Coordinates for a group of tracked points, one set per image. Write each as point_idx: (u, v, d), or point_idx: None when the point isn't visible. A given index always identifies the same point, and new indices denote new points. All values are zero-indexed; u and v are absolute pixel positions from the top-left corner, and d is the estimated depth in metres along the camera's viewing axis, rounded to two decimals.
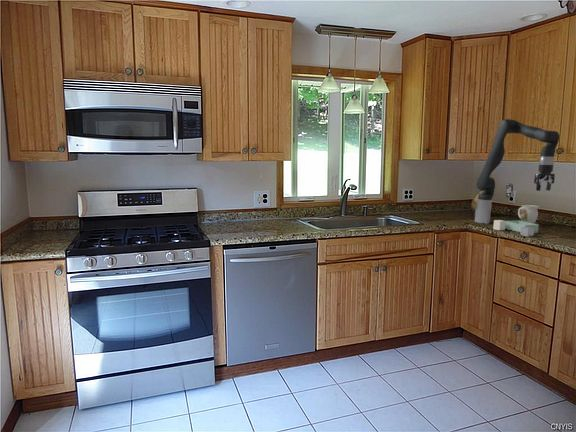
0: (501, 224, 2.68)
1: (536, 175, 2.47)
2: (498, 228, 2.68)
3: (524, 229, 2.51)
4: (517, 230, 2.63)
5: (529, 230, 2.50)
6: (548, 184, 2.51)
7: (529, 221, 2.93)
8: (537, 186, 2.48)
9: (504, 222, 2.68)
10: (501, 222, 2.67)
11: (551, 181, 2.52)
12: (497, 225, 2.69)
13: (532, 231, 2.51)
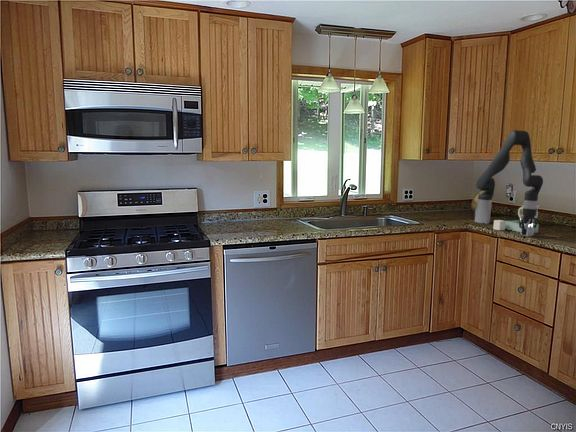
0: (501, 224, 2.68)
1: (520, 220, 2.49)
2: (498, 228, 2.68)
3: None
4: (517, 230, 2.63)
5: (529, 230, 2.50)
6: None
7: None
8: (522, 230, 2.51)
9: (504, 222, 2.68)
10: (501, 222, 2.67)
11: None
12: (497, 225, 2.69)
13: (532, 231, 2.51)
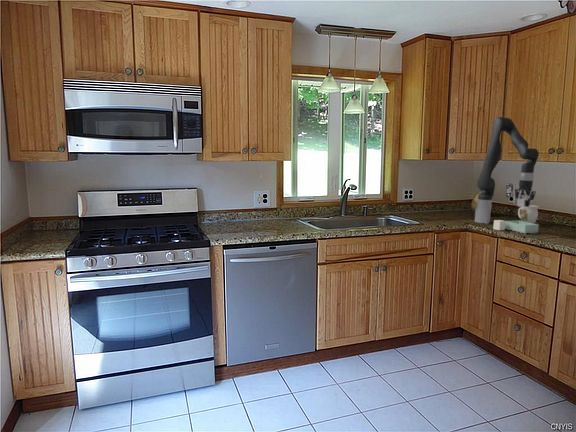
0: (501, 224, 2.68)
1: None
2: (498, 228, 2.68)
3: None
4: (517, 230, 2.63)
5: (519, 200, 2.64)
6: None
7: (529, 221, 2.93)
8: None
9: (504, 222, 2.68)
10: (501, 222, 2.67)
11: None
12: (497, 225, 2.69)
13: (522, 202, 2.62)
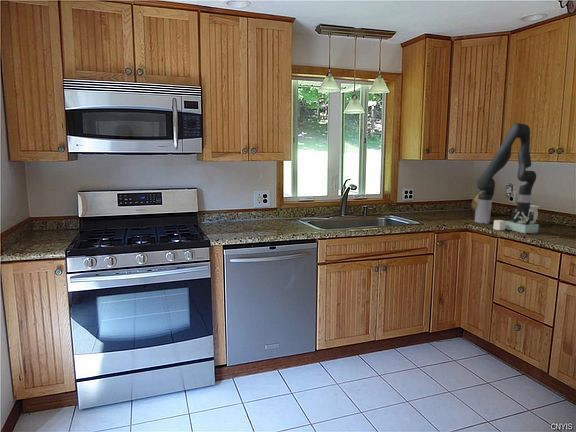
0: (501, 224, 2.68)
1: None
2: (498, 228, 2.68)
3: None
4: (517, 230, 2.63)
5: None
6: None
7: None
8: None
9: (504, 222, 2.68)
10: (501, 222, 2.67)
11: None
12: (497, 225, 2.69)
13: None
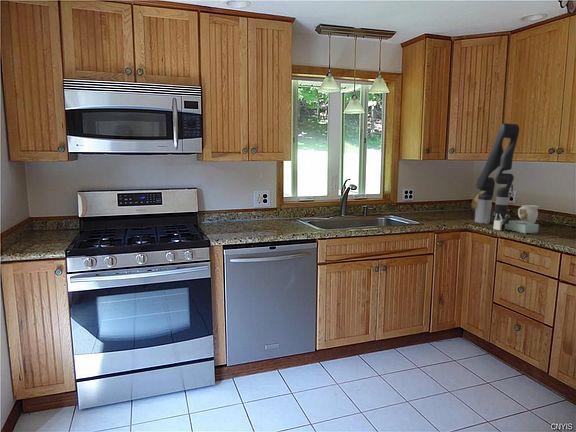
0: (501, 224, 2.68)
1: None
2: (499, 228, 2.68)
3: None
4: (517, 230, 2.63)
5: None
6: None
7: (529, 221, 2.93)
8: None
9: None
10: (501, 222, 2.67)
11: None
12: (498, 225, 2.69)
13: None
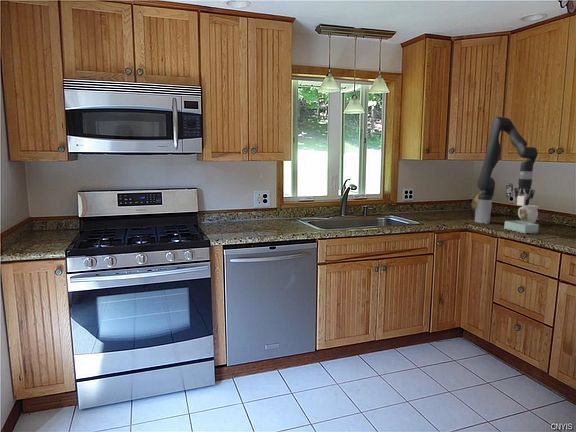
0: (525, 199, 2.61)
1: None
2: (522, 203, 2.61)
3: None
4: (517, 230, 2.63)
5: None
6: None
7: (529, 221, 2.93)
8: None
9: None
10: (525, 197, 2.61)
11: None
12: (521, 201, 2.62)
13: None
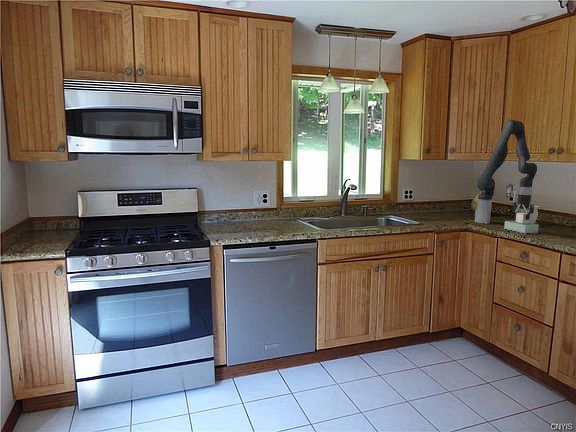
0: (524, 217, 2.63)
1: None
2: (521, 221, 2.63)
3: None
4: (517, 230, 2.63)
5: None
6: None
7: (529, 221, 2.93)
8: None
9: None
10: (524, 214, 2.62)
11: None
12: (520, 218, 2.64)
13: None
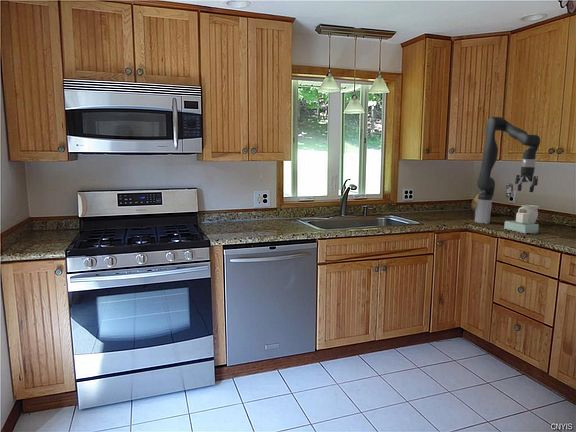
0: (524, 217, 2.63)
1: None
2: (521, 221, 2.63)
3: None
4: (517, 230, 2.63)
5: None
6: None
7: (529, 221, 2.93)
8: None
9: (527, 215, 2.63)
10: (524, 214, 2.62)
11: None
12: (520, 218, 2.64)
13: None
